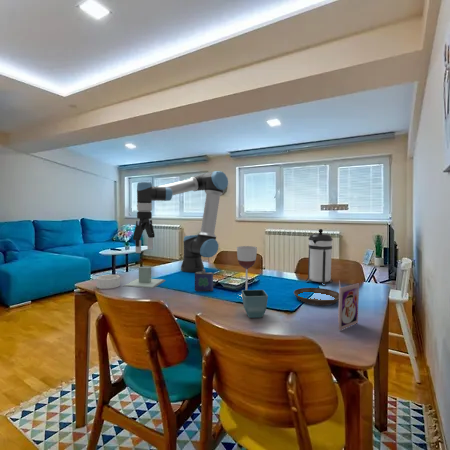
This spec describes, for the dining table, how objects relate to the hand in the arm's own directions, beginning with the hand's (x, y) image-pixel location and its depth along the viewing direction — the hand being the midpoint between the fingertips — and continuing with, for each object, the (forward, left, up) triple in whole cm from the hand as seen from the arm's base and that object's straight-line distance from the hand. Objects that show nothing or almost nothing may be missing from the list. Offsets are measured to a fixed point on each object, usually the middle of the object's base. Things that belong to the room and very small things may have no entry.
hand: (144, 251), depth 159 cm
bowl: (+16, +9, -18) cm, 25 cm away
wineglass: (-56, +10, -18) cm, 60 cm away
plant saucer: (-88, +8, -18) cm, 90 cm away
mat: (0, 0, -18) cm, 18 cm away
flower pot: (-62, +34, -18) cm, 73 cm away
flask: (-34, +5, -18) cm, 39 cm away
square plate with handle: (0, 0, -17) cm, 17 cm away
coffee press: (-93, -26, -18) cm, 98 cm away
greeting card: (-94, +36, -18) cm, 102 cm away
